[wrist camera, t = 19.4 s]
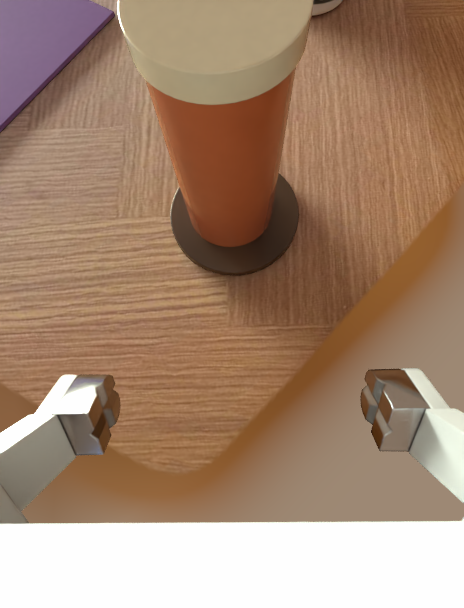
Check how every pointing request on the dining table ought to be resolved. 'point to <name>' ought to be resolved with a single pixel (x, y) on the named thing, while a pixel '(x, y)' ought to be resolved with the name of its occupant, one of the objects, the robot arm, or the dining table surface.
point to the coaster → (243, 256)
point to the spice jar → (221, 100)
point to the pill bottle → (324, 6)
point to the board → (41, 45)
